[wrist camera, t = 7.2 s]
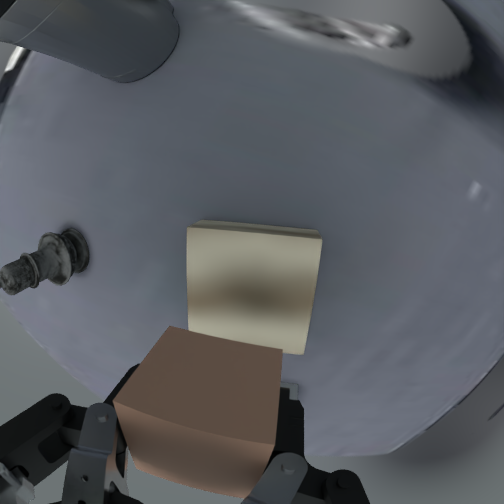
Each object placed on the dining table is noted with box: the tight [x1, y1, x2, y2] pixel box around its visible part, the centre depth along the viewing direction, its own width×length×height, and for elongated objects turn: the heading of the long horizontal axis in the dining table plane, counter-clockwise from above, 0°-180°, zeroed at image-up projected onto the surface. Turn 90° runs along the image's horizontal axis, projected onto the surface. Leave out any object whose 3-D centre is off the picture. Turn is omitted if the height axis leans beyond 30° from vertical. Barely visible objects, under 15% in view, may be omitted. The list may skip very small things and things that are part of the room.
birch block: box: [187, 220, 322, 355], centre depth 23 cm, size 10×10×4 cm
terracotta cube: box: [113, 326, 283, 498], centre depth 10 cm, size 5×5×5 cm
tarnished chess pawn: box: [0, 228, 89, 295], centre depth 21 cm, size 6×6×12 cm
